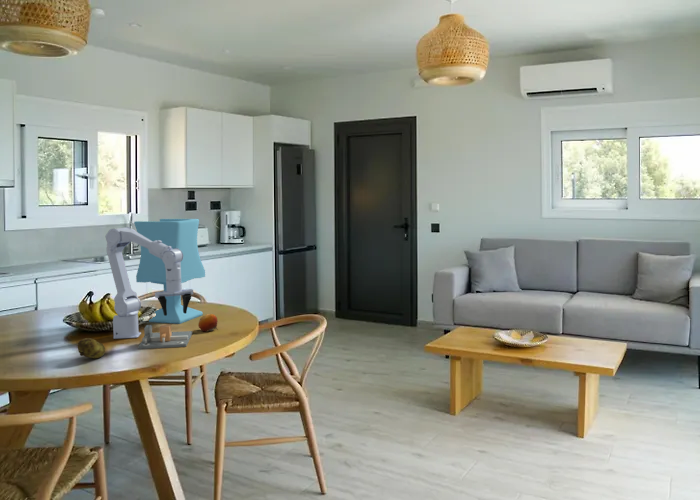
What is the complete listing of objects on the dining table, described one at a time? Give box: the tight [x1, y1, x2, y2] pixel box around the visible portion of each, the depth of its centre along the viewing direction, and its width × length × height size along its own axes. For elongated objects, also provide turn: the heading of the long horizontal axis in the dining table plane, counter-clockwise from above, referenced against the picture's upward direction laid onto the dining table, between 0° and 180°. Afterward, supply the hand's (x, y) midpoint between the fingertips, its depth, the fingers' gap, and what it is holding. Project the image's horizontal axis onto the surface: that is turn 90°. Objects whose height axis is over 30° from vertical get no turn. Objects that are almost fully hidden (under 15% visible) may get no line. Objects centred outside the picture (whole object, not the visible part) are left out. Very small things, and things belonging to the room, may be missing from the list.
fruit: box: [198, 313, 219, 332], centre depth 275 cm, size 8×8×8 cm
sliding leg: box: [159, 323, 173, 343], centre depth 253 cm, size 4×9×6 cm, turn 7°
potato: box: [76, 337, 106, 359], centre depth 233 cm, size 8×13×8 cm, turn 157°
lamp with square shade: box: [133, 218, 206, 325], centre depth 299 cm, size 22×22×45 cm
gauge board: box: [137, 330, 193, 350], centre depth 258 cm, size 18×22×2 cm
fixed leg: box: [143, 324, 153, 344], centre depth 252 cm, size 2×9×6 cm, turn 7°
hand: (175, 314), depth 259 cm, fingers open, 7 cm apart
